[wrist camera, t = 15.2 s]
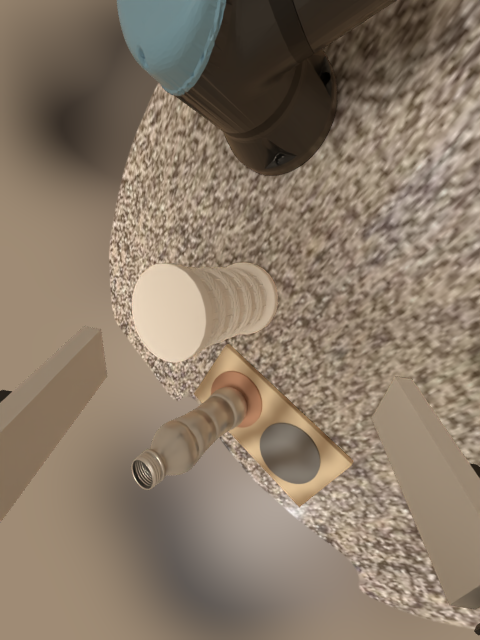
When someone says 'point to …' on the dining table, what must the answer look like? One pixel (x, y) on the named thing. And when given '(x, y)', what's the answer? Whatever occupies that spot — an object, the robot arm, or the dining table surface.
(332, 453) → the board
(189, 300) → the decorative container
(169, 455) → the plastic bottle
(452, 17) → the dining table surface
